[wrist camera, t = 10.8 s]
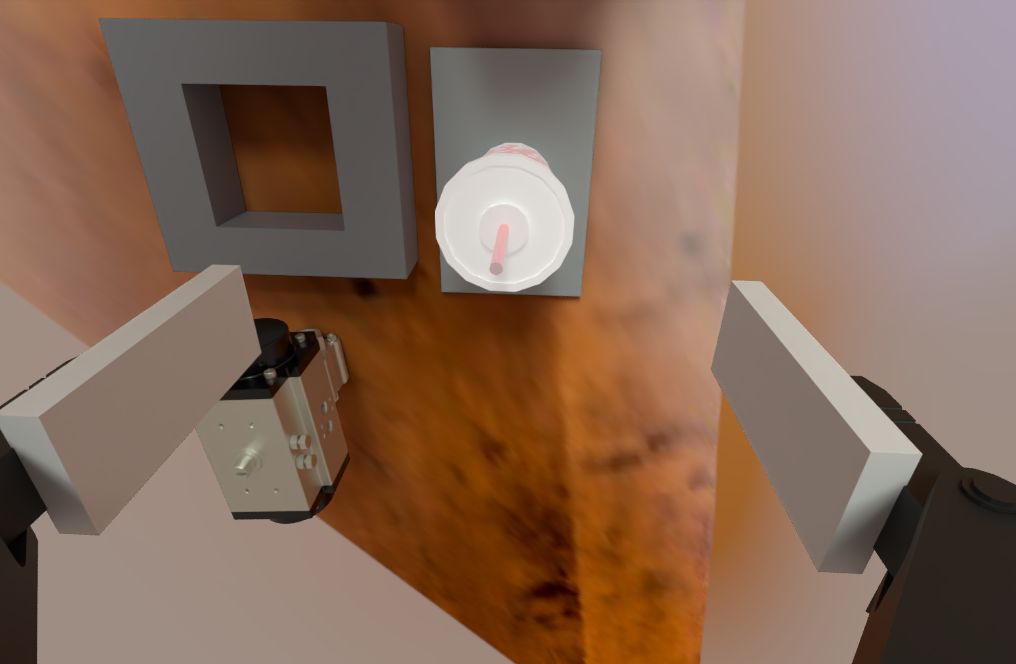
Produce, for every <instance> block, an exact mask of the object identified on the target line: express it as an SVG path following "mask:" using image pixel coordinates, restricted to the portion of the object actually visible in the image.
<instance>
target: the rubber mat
mask: <svg viewBox="0 0 1016 664" xmlns="http://www.w3.org/2000/svg"><path fill="white" fill-rule="evenodd" d="M601 53H602V50H579V49H514V48H449V47H430V56H431V77H432V98H433V119H434V140H435V161H436V181H437V202H439V200H440V197H441V194H442V192H443V189H444V186H445V185H446V184H447V183H448V182H449V181H450V180H451V179H452V178H453V177H454V176H455V175H456V174H457V172H458V171H459V170H460V169H461V168H462V167H463V166H464V165H466V164H467V163H469V162H471V161H474V160H476V159H479V158H481V157H483V156H484V155H485V154H486V153H487V152H488V151H489V150H490V149H491V148H494V147H496V146H499V145H502V144H504V143H522V144H524V145H527V146H529V147H531V148H533V149H535V150H537V152H538V153H539V154H540V155H541V156H542V157H543V158H544V159H545V161H546V162H547V164H548V166H549V168H550V170H551V172H552V173H553V174H554V175H555V177H556V178H557V179H558V180H559V181H560V182H561V183H562V184H563V186H564V187H565V189H566V192H567V195H568V198H569V201H570V204H571V207H572V210H573V213H574V229H573V241H572V245H571V247H570V249H569V251H568V253H567V255H566V256H565V258H564V260H563V262H562V264H561V266H560V267H559V268H558V269H557V270H556V271H555V272H553V273H552V274H551V275H550V276H549V277H547V278H546V279H545V280H544V281H543V282H541V283H540V284H537V285H534V286H531V287H528V288H526V289H523V290H520V291H517V292H509V291H489V290H487V289H485V288H482V287H480V286H478V285H475V284H473V283H471V282H468V281H466V280H465V279H464V278H463V277H462V276H461V275H460V274H459V273H458V272H457V271H456V270H455V269H453V268H452V267H451V266H450V265H449V264H448V263H447V261H446V259H445V257H444V255H443V252H442V250H441V248H440V265H441V286H442V292H463V293H493V294H523V295H553V296H581V290H582V278H583V266H584V254H585V242H586V231H587V219H588V207H589V195H590V183H591V172H592V160H593V148H594V136H595V124H596V112H597V101H598V89H599V77H600V65H601Z"/></svg>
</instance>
